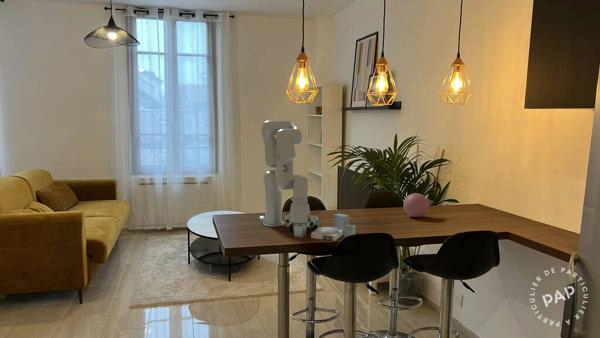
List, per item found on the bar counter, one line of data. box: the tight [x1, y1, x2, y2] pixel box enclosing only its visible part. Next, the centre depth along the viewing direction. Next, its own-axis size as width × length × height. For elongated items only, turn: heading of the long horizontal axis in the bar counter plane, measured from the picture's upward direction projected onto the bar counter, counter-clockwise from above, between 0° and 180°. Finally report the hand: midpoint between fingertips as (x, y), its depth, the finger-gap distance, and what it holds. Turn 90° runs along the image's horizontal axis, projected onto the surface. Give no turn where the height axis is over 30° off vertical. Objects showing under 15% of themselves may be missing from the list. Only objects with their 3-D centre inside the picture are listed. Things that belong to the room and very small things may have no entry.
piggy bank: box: [402, 192, 434, 218], centre depth 269 cm, size 15×20×15 cm
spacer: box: [343, 223, 356, 238], centre depth 220 cm, size 4×4×6 cm
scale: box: [310, 226, 344, 242], centre depth 220 cm, size 13×14×4 cm
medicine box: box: [333, 213, 350, 233], centre depth 233 cm, size 8×4×9 cm, turn 43°
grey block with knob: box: [293, 224, 307, 239], centre depth 220 cm, size 4×4×6 cm
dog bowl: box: [292, 215, 321, 231], centre depth 241 cm, size 17×18×5 cm
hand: (299, 233), depth 220 cm, fingers open, 9 cm apart
